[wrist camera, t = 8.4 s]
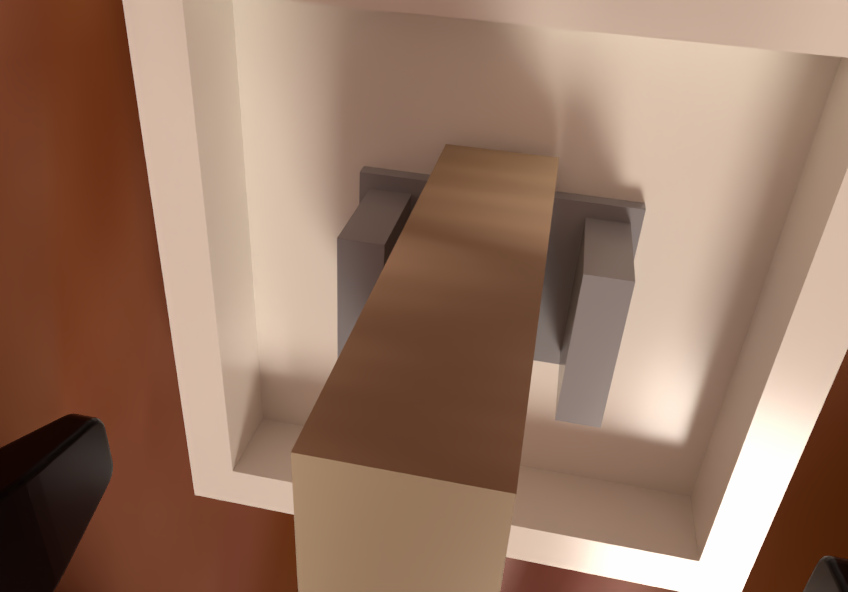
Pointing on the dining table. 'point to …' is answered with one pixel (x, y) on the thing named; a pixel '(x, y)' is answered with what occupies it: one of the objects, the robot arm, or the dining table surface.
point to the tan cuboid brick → (431, 391)
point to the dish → (567, 248)
